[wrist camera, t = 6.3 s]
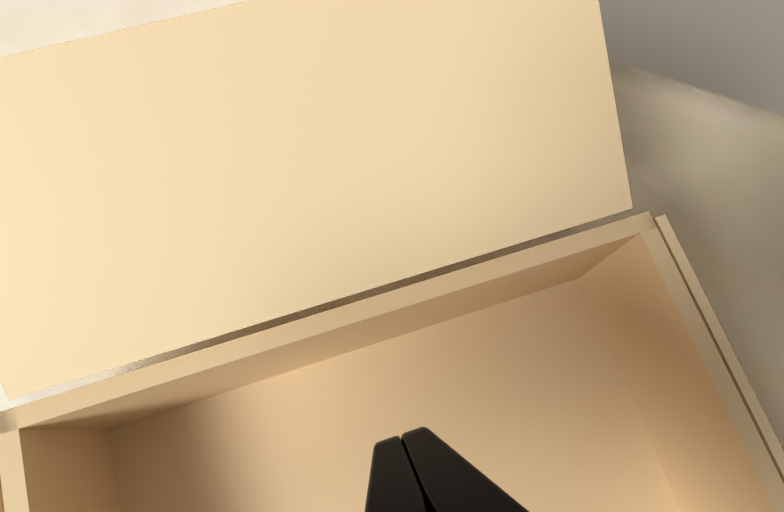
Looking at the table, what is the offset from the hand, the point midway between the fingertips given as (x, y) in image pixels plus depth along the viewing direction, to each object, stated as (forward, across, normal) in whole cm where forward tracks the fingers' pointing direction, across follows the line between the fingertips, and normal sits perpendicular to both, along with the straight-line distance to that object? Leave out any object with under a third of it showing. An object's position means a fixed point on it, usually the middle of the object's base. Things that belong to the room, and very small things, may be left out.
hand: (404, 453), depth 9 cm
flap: (+6, 0, +1) cm, 6 cm away
